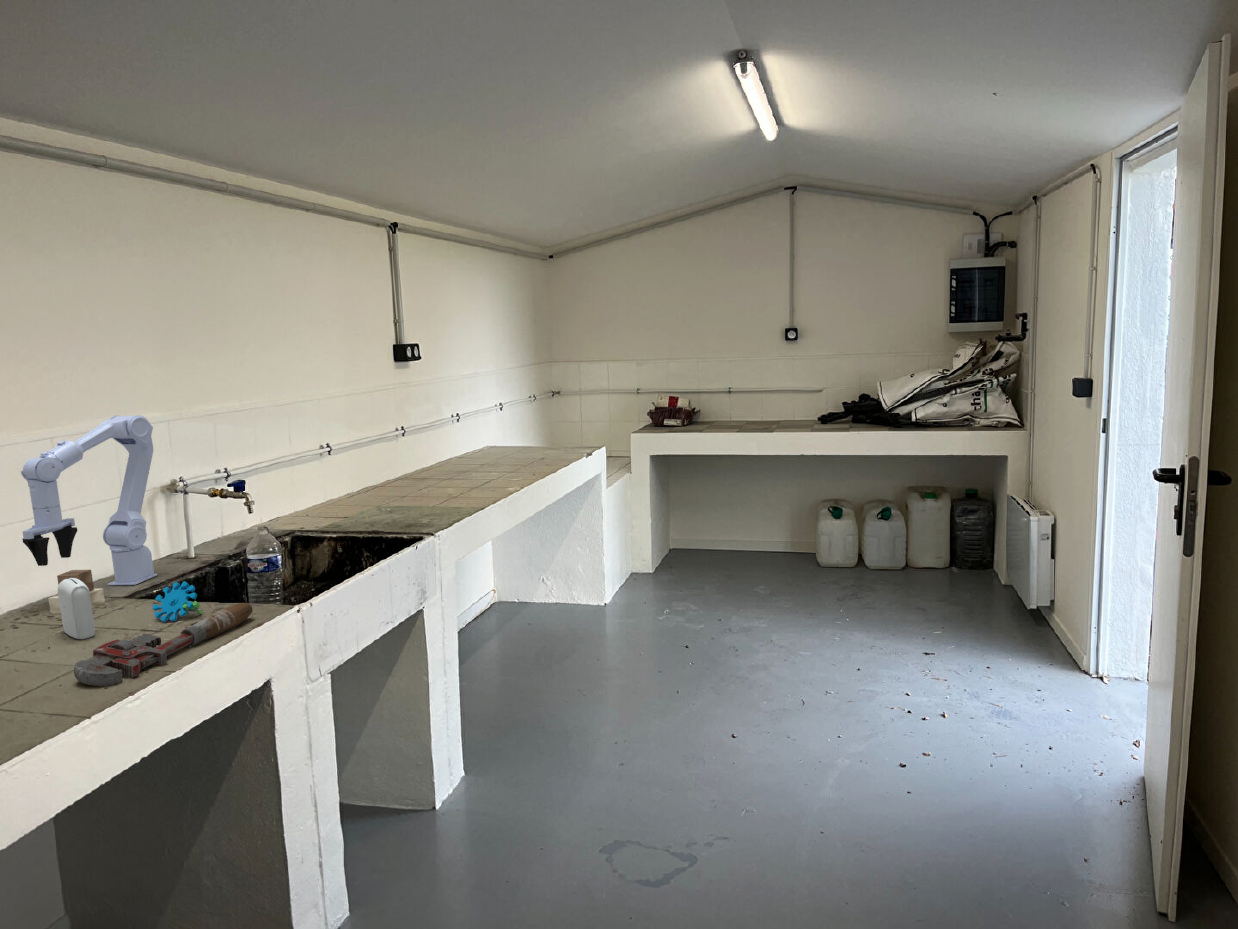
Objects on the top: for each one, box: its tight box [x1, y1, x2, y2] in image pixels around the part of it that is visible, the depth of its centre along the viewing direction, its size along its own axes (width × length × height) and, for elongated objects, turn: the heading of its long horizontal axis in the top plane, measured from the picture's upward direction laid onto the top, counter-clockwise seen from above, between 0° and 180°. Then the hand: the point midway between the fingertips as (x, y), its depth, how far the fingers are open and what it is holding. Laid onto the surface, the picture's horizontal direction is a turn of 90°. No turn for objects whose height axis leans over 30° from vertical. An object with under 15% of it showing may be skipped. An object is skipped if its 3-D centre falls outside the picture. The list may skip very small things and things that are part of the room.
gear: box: [152, 580, 203, 623], centre depth 204 cm, size 11×6×10 cm
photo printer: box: [57, 578, 96, 640], centre depth 194 cm, size 10×4×12 cm, turn 47°
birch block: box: [47, 588, 106, 614], centre depth 215 cm, size 8×8×4 cm
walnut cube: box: [56, 569, 95, 592], centre depth 215 cm, size 5×5×5 cm
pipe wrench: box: [73, 602, 253, 687], centre depth 181 cm, size 40×12×5 cm, turn 163°
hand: (54, 561), depth 220 cm, fingers open, 7 cm apart
